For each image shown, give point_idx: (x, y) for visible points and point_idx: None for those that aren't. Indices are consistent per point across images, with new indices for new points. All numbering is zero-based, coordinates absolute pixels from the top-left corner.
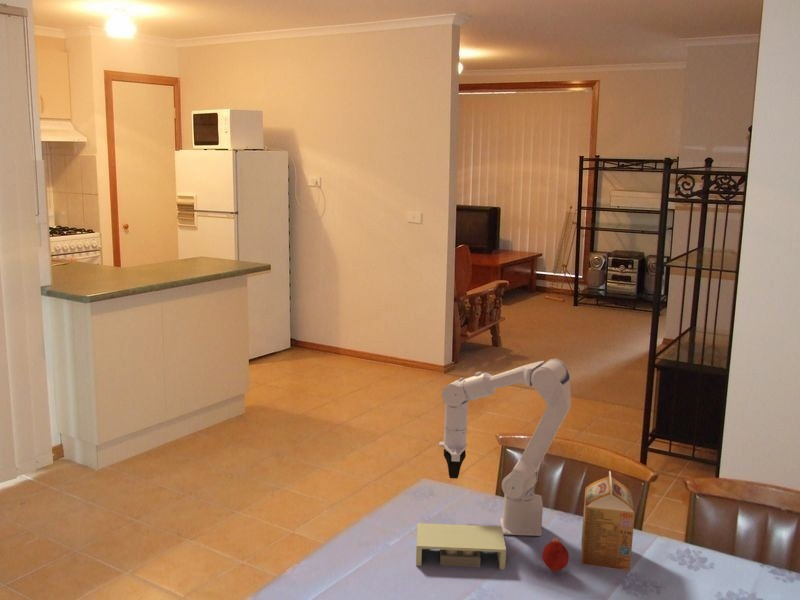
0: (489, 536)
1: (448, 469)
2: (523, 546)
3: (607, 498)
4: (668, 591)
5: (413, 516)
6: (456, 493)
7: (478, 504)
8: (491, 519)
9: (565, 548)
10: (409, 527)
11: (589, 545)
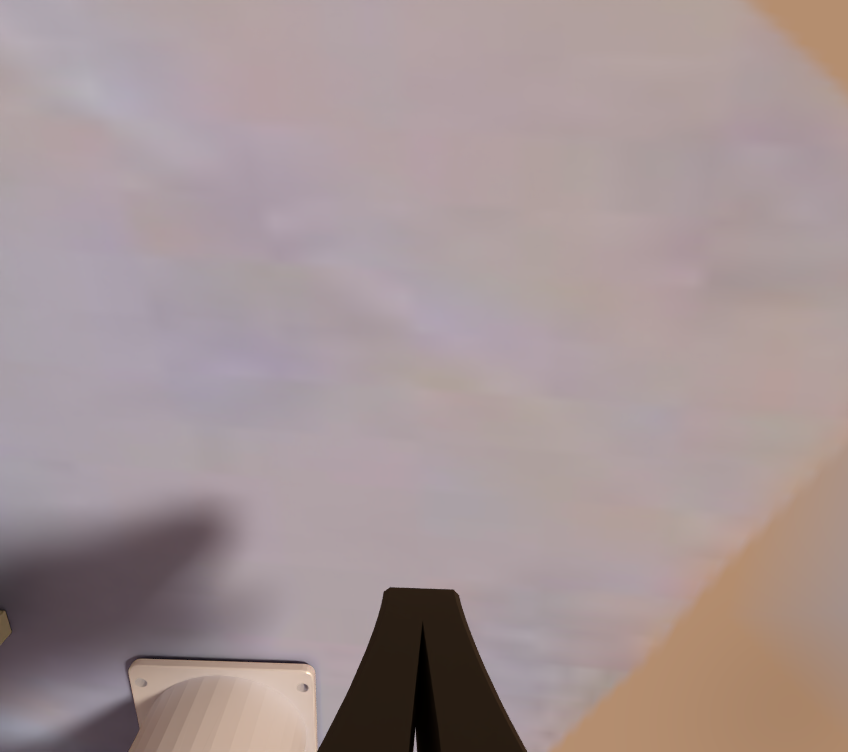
0: None
1: (350, 695)
2: (38, 719)
3: None
4: None
5: (309, 101)
6: (710, 466)
7: (526, 578)
8: (323, 622)
9: None
10: (93, 54)
11: None
